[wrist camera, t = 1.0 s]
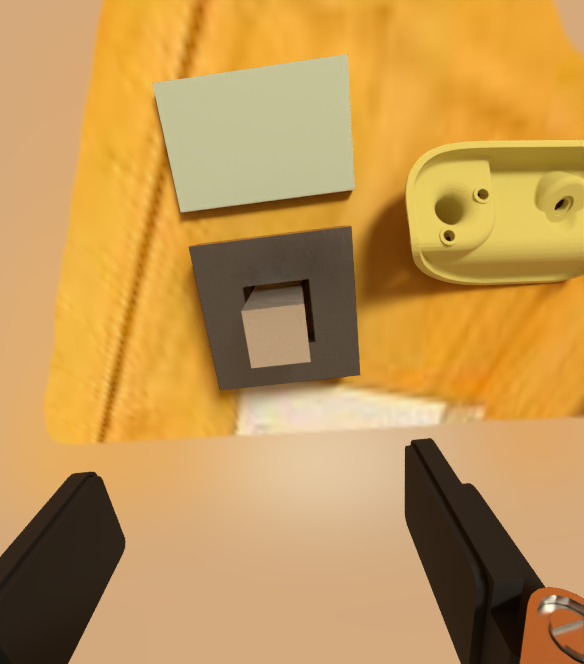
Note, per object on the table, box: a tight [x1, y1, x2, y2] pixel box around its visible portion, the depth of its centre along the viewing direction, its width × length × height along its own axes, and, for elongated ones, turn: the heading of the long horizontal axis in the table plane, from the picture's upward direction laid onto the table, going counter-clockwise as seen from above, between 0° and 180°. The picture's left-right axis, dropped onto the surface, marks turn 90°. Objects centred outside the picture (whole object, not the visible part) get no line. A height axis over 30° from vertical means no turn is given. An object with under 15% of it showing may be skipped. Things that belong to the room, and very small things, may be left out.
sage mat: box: [153, 54, 355, 213], centre depth 28 cm, size 16×10×1 cm, turn 97°
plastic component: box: [405, 140, 584, 285], centre depth 29 cm, size 20×7×10 cm
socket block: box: [189, 226, 360, 390], centre depth 32 cm, size 14×14×4 cm
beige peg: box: [241, 280, 311, 368], centre depth 29 cm, size 5×5×10 cm
